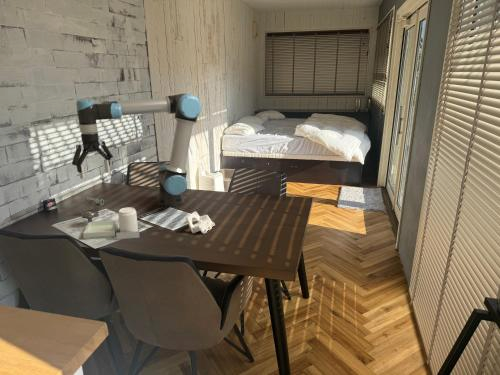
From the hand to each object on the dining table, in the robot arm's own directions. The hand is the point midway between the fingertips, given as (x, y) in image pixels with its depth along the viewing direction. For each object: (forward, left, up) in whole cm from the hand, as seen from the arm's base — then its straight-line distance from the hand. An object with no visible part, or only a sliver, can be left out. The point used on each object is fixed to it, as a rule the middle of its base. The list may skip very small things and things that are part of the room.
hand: (95, 175), depth 173 cm
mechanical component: (+3, -8, -25) cm, 26 cm away
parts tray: (-3, +14, -25) cm, 29 cm away
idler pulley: (+4, +4, -25) cm, 26 cm away
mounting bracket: (-50, +21, -25) cm, 60 cm away
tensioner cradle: (-16, +18, -25) cm, 34 cm away
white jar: (-16, +18, -25) cm, 35 cm away
